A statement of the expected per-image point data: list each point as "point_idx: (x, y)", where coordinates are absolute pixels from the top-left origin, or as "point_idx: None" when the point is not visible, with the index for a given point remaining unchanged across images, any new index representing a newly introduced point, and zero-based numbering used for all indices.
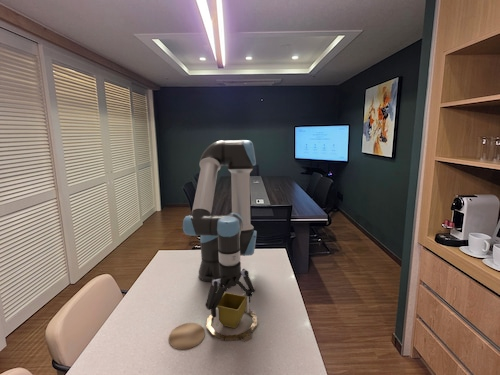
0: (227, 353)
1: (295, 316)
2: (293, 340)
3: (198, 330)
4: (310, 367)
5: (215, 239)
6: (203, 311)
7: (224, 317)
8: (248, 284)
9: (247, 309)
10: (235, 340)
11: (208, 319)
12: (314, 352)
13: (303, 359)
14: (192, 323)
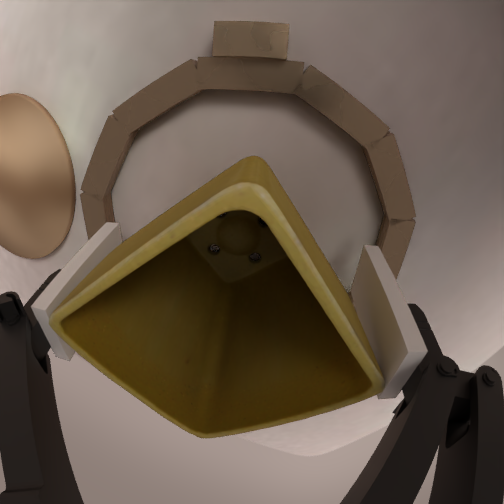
0: None
1: (467, 359)
2: (355, 415)
3: (46, 185)
4: (302, 452)
5: None
6: (139, 5)
7: (147, 307)
8: (436, 496)
9: (357, 310)
10: None
11: (107, 135)
12: (348, 442)
13: (311, 443)
14: (34, 112)
